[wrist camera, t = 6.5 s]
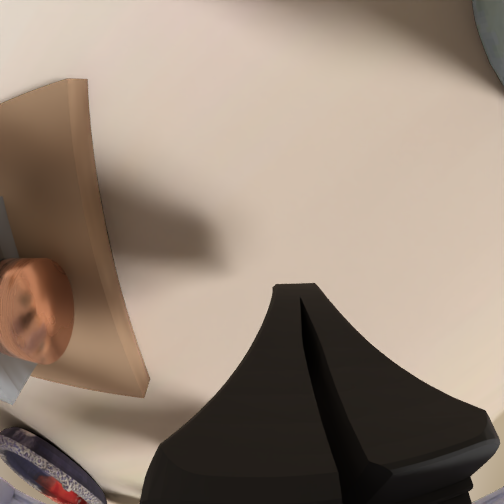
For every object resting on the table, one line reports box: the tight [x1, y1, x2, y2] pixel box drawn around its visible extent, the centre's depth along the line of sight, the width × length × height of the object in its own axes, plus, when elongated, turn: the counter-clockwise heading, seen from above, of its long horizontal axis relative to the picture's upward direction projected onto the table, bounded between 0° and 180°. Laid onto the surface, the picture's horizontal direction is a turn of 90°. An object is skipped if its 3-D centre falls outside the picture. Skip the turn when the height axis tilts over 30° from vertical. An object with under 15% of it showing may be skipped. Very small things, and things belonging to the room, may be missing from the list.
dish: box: [0, 427, 107, 504], centre depth 27 cm, size 16×31×5 cm, turn 166°
